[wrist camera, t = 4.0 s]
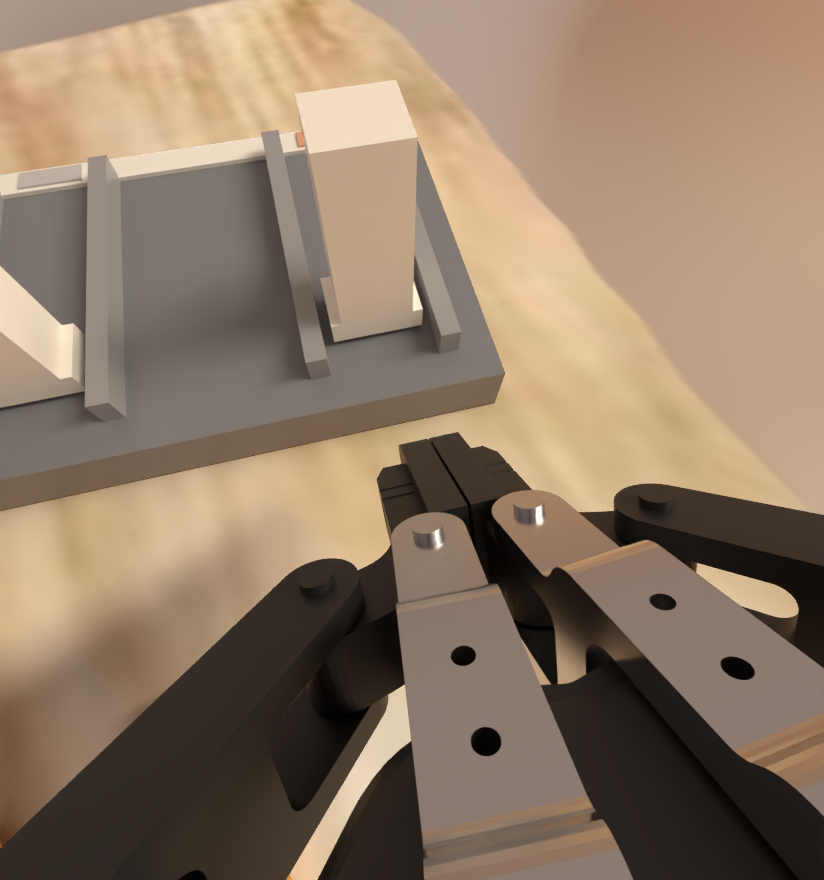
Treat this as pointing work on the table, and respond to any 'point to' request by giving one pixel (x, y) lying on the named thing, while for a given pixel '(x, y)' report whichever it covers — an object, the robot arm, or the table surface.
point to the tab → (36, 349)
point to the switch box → (215, 317)
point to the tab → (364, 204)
